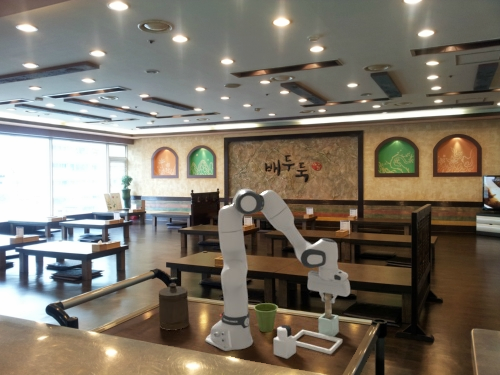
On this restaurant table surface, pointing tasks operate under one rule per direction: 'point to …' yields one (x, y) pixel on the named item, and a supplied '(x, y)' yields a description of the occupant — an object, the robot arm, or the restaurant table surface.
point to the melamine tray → (324, 350)
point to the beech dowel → (328, 306)
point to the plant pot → (266, 316)
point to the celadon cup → (328, 325)
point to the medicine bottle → (284, 342)
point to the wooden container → (173, 307)
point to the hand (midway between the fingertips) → (328, 301)
